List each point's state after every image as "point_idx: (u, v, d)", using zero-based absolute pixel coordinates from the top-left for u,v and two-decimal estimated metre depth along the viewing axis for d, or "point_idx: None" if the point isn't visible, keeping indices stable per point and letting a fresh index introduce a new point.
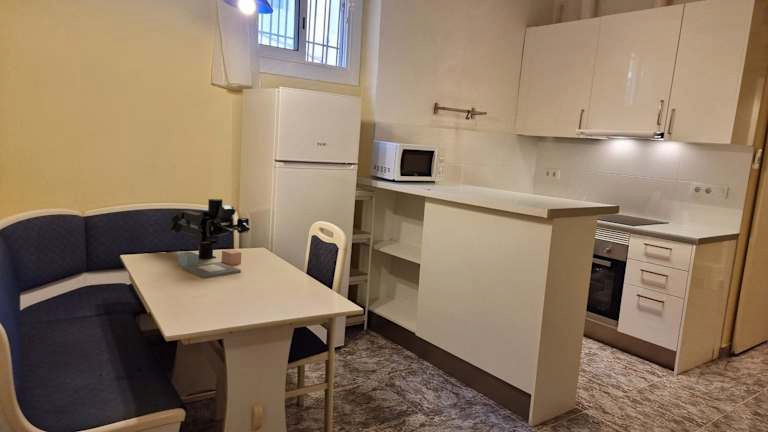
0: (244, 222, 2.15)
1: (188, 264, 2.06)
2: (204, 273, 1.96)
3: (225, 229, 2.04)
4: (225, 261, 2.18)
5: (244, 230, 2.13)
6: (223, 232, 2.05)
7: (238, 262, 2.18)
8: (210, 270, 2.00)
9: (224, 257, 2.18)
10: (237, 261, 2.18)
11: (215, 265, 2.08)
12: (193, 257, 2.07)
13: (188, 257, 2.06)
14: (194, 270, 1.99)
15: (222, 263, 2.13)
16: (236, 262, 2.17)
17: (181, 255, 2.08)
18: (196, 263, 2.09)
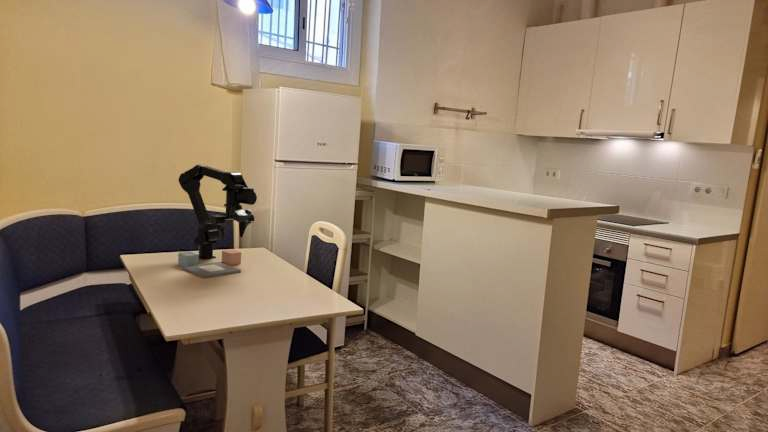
0: (246, 225, 2.21)
1: (188, 264, 2.06)
2: (204, 273, 1.96)
3: (221, 235, 2.14)
4: (225, 261, 2.18)
5: (239, 229, 2.22)
6: (218, 232, 2.14)
7: (238, 262, 2.18)
8: (210, 270, 2.00)
9: (224, 257, 2.18)
10: (236, 261, 2.18)
11: (215, 265, 2.08)
12: (193, 257, 2.07)
13: (188, 257, 2.06)
14: (194, 270, 1.99)
15: (222, 263, 2.13)
16: (236, 262, 2.17)
17: (181, 255, 2.08)
18: (196, 263, 2.09)
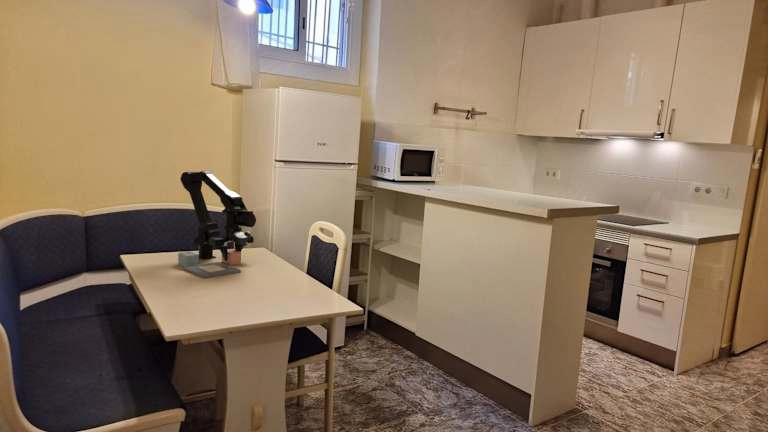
0: (242, 247, 2.21)
1: (188, 264, 2.06)
2: (204, 273, 1.96)
3: (224, 256, 2.16)
4: (225, 261, 2.18)
5: None
6: (222, 254, 2.17)
7: (238, 262, 2.18)
8: (210, 270, 2.00)
9: None
10: (237, 261, 2.18)
11: (215, 265, 2.08)
12: (193, 257, 2.07)
13: (188, 257, 2.06)
14: (194, 270, 1.99)
15: (222, 263, 2.13)
16: (236, 262, 2.17)
17: (181, 255, 2.08)
18: (196, 263, 2.09)
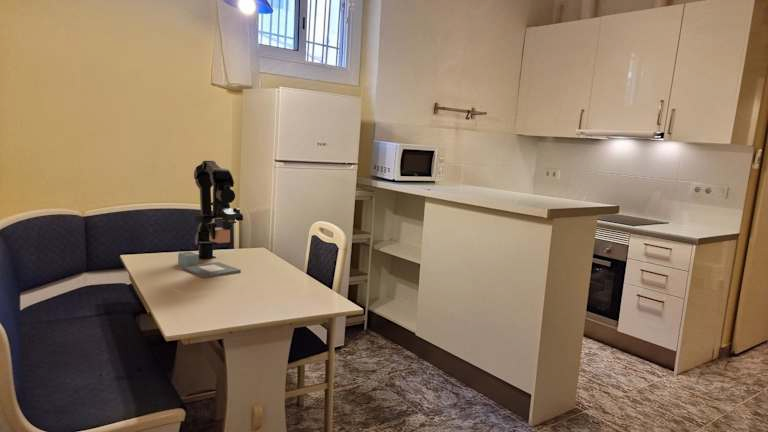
0: (231, 225, 2.08)
1: (188, 264, 2.06)
2: (204, 273, 1.96)
3: (212, 235, 2.04)
4: (213, 239, 2.05)
5: None
6: (210, 232, 2.04)
7: (227, 240, 2.05)
8: (210, 270, 2.00)
9: None
10: (225, 239, 2.05)
11: (215, 265, 2.08)
12: (193, 257, 2.07)
13: (188, 257, 2.06)
14: (194, 270, 1.99)
15: (222, 263, 2.13)
16: (225, 240, 2.05)
17: (181, 255, 2.08)
18: (196, 263, 2.09)
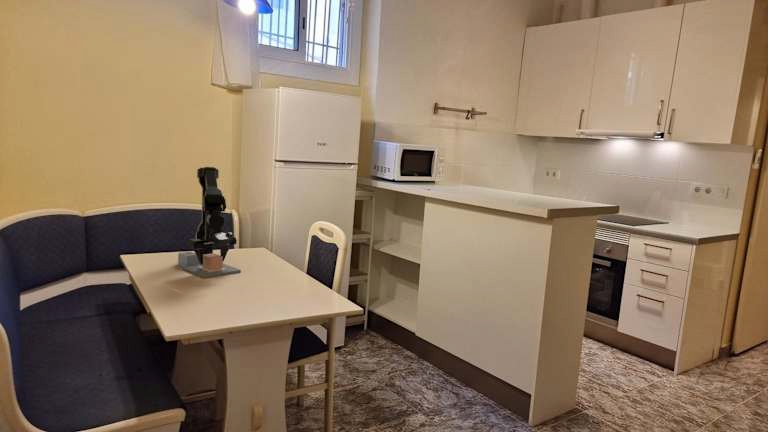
0: (228, 248, 2.06)
1: (188, 264, 2.06)
2: (204, 273, 1.96)
3: (200, 260, 1.99)
4: (205, 266, 2.02)
5: (221, 252, 2.07)
6: (197, 257, 2.00)
7: (219, 267, 2.02)
8: (210, 270, 2.00)
9: (204, 261, 2.02)
10: (218, 266, 2.02)
11: None
12: (193, 257, 2.07)
13: (188, 257, 2.06)
14: (194, 270, 1.99)
15: None
16: (217, 267, 2.02)
17: (181, 255, 2.08)
18: (196, 263, 2.09)
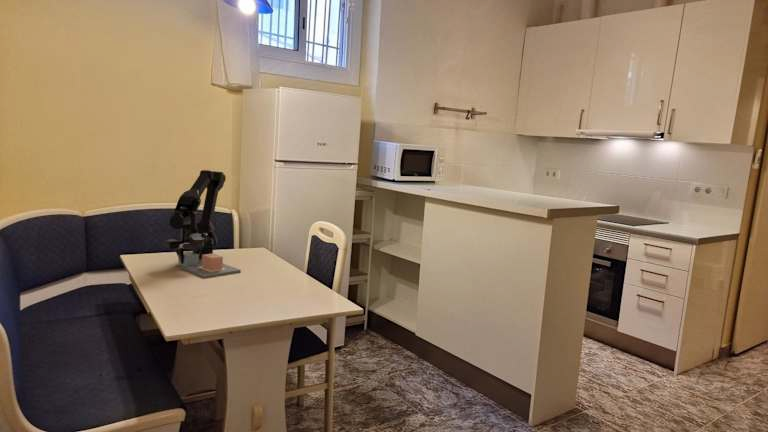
0: (200, 249, 2.11)
1: (188, 264, 2.06)
2: (204, 273, 1.96)
3: (180, 259, 2.07)
4: (205, 266, 2.02)
5: None
6: (178, 256, 2.07)
7: (219, 267, 2.02)
8: (210, 270, 2.00)
9: (204, 261, 2.02)
10: (218, 266, 2.02)
11: None
12: (193, 256, 2.07)
13: (188, 257, 2.06)
14: (194, 270, 1.99)
15: None
16: (217, 267, 2.02)
17: None
18: (196, 263, 2.09)
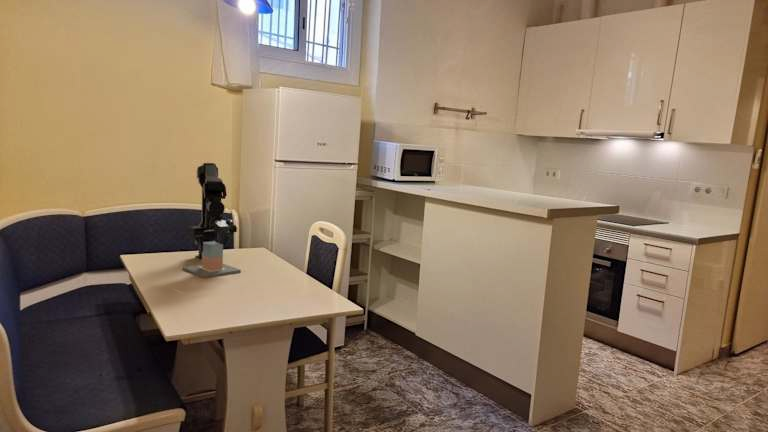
0: (228, 236, 2.05)
1: (212, 254, 1.99)
2: (204, 273, 1.96)
3: (200, 247, 1.98)
4: (205, 266, 2.02)
5: (221, 240, 2.07)
6: (198, 244, 1.99)
7: (219, 267, 2.02)
8: (210, 270, 2.00)
9: (204, 261, 2.02)
10: (218, 266, 2.02)
11: None
12: (218, 246, 2.01)
13: (213, 247, 1.99)
14: (194, 270, 1.99)
15: None
16: (217, 267, 2.02)
17: (205, 245, 2.01)
18: (220, 253, 2.02)
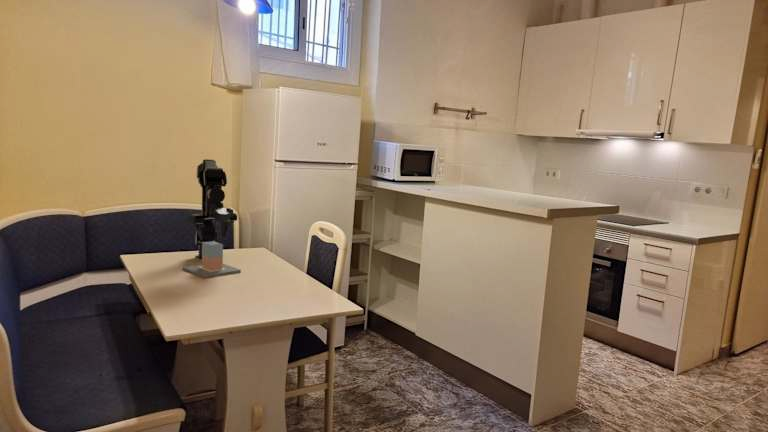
0: (228, 224, 2.05)
1: (212, 254, 1.99)
2: (204, 273, 1.96)
3: (200, 235, 1.98)
4: (205, 266, 2.02)
5: (221, 229, 2.06)
6: (198, 232, 1.98)
7: (219, 267, 2.02)
8: (210, 270, 2.00)
9: (204, 261, 2.02)
10: (218, 266, 2.02)
11: None
12: (218, 246, 2.01)
13: (213, 247, 1.99)
14: (194, 270, 1.99)
15: None
16: (217, 267, 2.02)
17: (205, 245, 2.01)
18: (220, 253, 2.02)
